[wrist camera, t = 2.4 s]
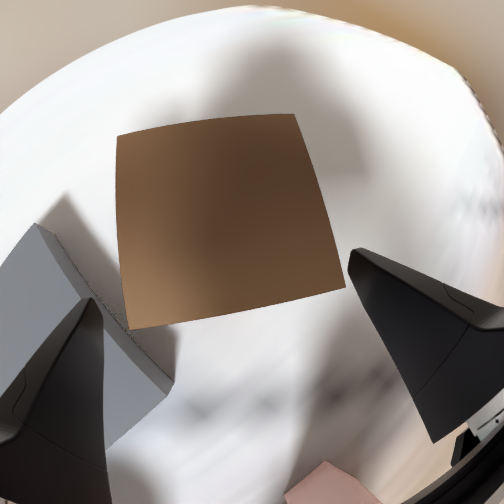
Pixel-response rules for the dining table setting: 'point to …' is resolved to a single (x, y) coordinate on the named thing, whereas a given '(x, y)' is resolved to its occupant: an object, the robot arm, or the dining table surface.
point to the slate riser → (51, 314)
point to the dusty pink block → (329, 488)
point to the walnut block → (219, 220)
